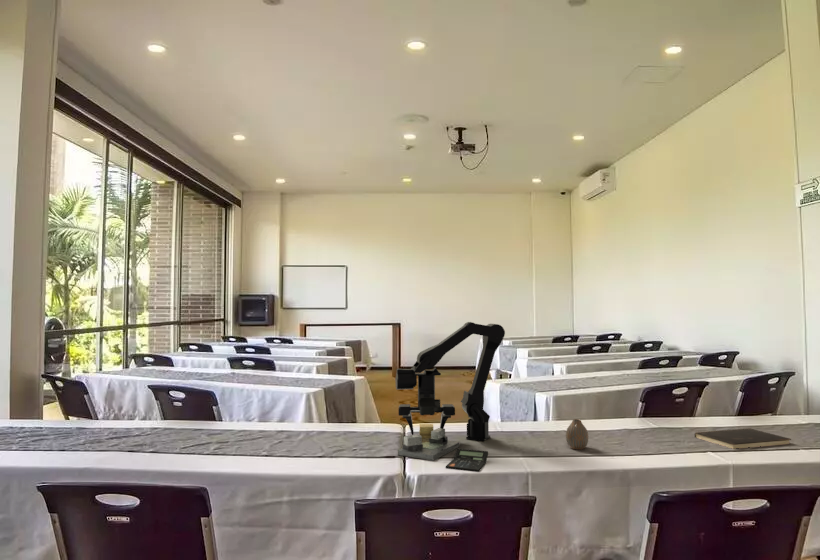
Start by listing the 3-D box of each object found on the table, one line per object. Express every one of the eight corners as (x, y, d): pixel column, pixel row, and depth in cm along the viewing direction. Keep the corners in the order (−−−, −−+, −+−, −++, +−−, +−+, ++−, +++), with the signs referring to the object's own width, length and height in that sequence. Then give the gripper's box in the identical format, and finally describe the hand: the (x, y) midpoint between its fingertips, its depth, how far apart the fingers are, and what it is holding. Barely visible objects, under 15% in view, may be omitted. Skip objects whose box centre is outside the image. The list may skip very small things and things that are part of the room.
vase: (577, 452, 169) (576, 423, 170) (561, 446, 175) (560, 419, 176) (593, 449, 173) (593, 420, 173) (577, 444, 179) (577, 416, 179)
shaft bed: (459, 446, 176) (459, 430, 176) (433, 460, 160) (433, 442, 160) (426, 442, 182) (426, 426, 182) (397, 455, 166) (397, 437, 166)
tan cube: (433, 438, 186) (433, 423, 187) (433, 442, 182) (433, 427, 182) (419, 438, 186) (419, 423, 187) (419, 442, 182) (419, 427, 182)
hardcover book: (791, 445, 178) (791, 438, 178) (733, 451, 172) (733, 443, 172) (748, 434, 193) (748, 427, 193) (694, 438, 187) (694, 432, 187)
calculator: (445, 469, 153) (445, 458, 153) (457, 458, 164) (457, 448, 164) (478, 472, 150) (478, 461, 150) (488, 461, 161) (488, 451, 161)
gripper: (398, 392, 177) (398, 442, 176) (456, 392, 177) (456, 441, 176) (398, 387, 188) (398, 433, 187) (453, 387, 188) (453, 433, 187)
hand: (426, 435), depth 184 cm, fingers open, 9 cm apart
